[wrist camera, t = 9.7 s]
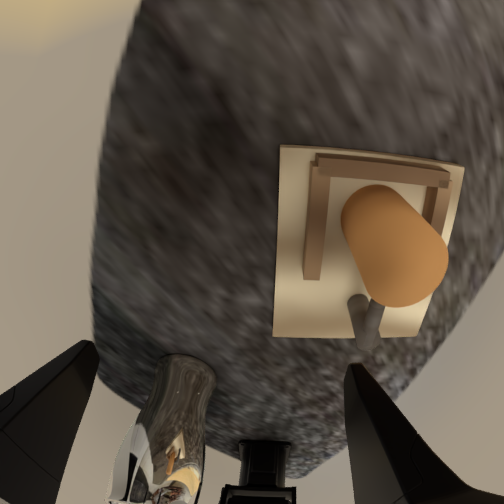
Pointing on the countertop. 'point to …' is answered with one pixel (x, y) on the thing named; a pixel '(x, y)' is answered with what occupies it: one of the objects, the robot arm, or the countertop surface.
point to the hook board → (335, 244)
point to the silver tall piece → (166, 438)
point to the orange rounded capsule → (393, 246)
